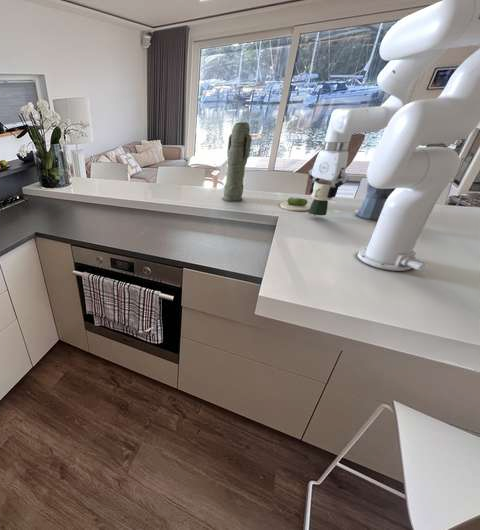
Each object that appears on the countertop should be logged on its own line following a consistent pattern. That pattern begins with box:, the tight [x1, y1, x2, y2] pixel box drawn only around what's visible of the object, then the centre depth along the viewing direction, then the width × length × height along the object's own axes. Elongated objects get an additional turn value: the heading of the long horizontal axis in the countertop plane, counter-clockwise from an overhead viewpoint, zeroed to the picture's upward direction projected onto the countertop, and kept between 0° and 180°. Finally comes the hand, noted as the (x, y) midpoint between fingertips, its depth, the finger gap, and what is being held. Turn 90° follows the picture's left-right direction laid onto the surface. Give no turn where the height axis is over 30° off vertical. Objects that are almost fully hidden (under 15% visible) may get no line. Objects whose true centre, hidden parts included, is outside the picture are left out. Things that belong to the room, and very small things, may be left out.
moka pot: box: [356, 182, 396, 221], centre depth 108 cm, size 10×15×20 cm, turn 174°
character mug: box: [307, 179, 333, 216], centre depth 113 cm, size 11×7×13 cm, turn 120°
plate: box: [279, 200, 312, 212], centre depth 130 cm, size 13×13×1 cm
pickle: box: [286, 196, 308, 206], centre depth 129 cm, size 8×3×3 cm, turn 46°
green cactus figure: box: [223, 122, 252, 203], centre depth 137 cm, size 9×12×35 cm
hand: (322, 194), depth 112 cm, fingers closed on character mug, 7 cm apart
